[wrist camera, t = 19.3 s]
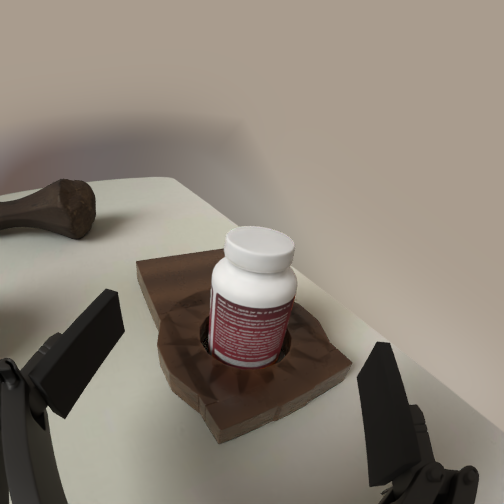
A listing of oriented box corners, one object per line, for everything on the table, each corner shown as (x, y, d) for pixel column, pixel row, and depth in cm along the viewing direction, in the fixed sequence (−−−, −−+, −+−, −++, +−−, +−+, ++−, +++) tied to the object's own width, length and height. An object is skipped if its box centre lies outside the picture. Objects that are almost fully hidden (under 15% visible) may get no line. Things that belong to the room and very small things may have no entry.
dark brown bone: (101, 239, 43) (-8, 256, 36) (99, 181, 43) (-8, 206, 36) (79, 233, 32) (-39, 255, 26) (79, 162, 32) (-38, 197, 26)
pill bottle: (291, 366, 22) (326, 253, 18) (228, 391, 19) (244, 268, 14) (254, 324, 27) (272, 219, 22) (196, 340, 24) (200, 225, 19)
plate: (351, 376, 21) (362, 358, 20) (204, 451, 14) (204, 438, 13) (232, 263, 38) (234, 246, 37) (128, 280, 30) (126, 262, 29)
